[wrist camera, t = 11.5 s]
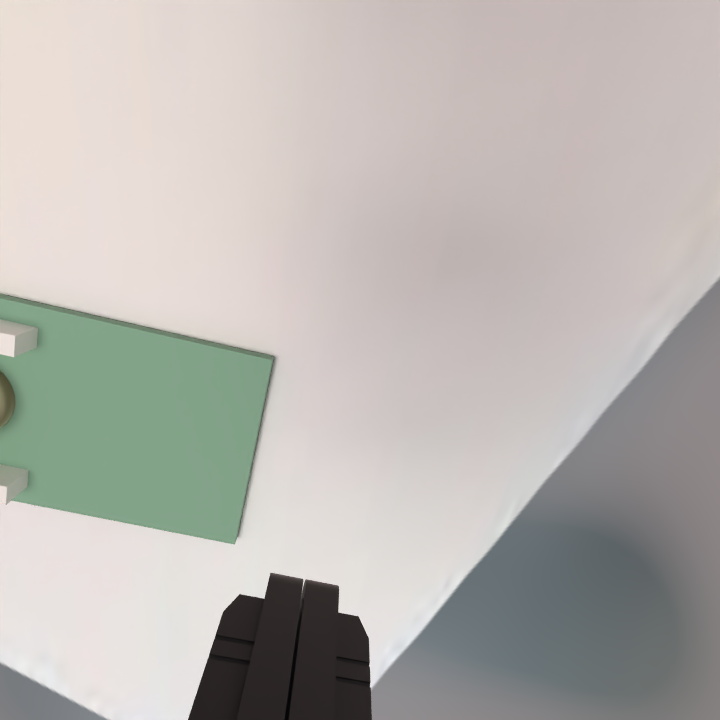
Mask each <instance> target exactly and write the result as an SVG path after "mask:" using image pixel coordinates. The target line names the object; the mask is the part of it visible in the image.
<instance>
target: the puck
mask: <svg viewBox="0 0 720 720" xmlns="http://www.w3.org/2000/svg"><path fill="white" fill-rule="evenodd" d="M14 410H15V394H14V391H13V388H12V386H11V383H10V382H9V380H8V379H7V377H6V376H5V375H4V374H3V373H2V372H1V371H0V428H1V427H3V426H4V425H5V424H6V423H7V422H8V421H9V420H10V419H11V417H12V415H13V413H14Z"/></svg>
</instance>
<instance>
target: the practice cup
mask: <svg viewBox="0 0 720 720" xmlns="http://www.w3.org/2000/svg"><path fill="white" fill-rule="evenodd" d="M37 336H38V327H33V326H29V325H24V324H20V323H15V322H11V321H6V320H2V319H0V354H2V355H6V356H11V357H16V356H18V355H20V354H23V353H25V352H27V351H30V350H32V349H35V348H37ZM27 485H28V470H27V469H22V468H17V467H12V466H7V465H2V464H0V504H5V505H6V504H7V503H9V502H10V501H11V500H12V499H13V498H15V497H16V496H17V495H18V494H19V493H21V492H22V491H23V490H24V489H25V488H27Z"/></svg>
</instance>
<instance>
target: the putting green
mask: <svg viewBox="0 0 720 720" xmlns="http://www.w3.org/2000/svg"><path fill="white" fill-rule="evenodd" d="M0 319H2V320H6V321H11V322H15V323H20V324H24V325H29V326H33V327H38V336H37V348H35V349H32V350H30V351H27V352H25V353H23V354H20V355H18V356H16V357H11V356H6V355H2V354H0V371H1V372H2V373H3V374H4V375H5V376H6V377H7V379H8V380H9V382H10V383H11V386H12V388H13V391H14V394H15V410H14V413H13V415H12V417H11V419H10V420H9V421H8V422H7V423H6V424H5V425H4V426H3V427H1V428H0V464H2V465H7V466H12V467H17V468H22V469H27V470H28V485H27V488H25V489H24V490H23V491H22V492H21V493H19V494H18V495H17V496H16V497H15V498H13V499H12V501H17V502H22V503H27V504H32V505H37V506H42V507H48V508H53V509H58V510H63V511H68V512H73V513H78V514H83V515H88V516H93V517H98V518H103V519H108V520H114V521H119V522H124V523H129V524H134V525H139V526H144V527H149V528H154V529H159V530H164V531H169V532H174V533H180V534H185V535H190V536H195V537H200V538H205V539H210V540H215V541H220V542H225V543H230V544H235V542H236V539H237V536H238V531H239V527H240V522H241V517H242V512H243V507H244V502H245V497H246V492H247V487H248V483H249V478H250V473H251V468H252V463H253V458H254V453H255V448H256V444H257V439H258V434H259V429H260V424H261V419H262V414H263V409H264V404H265V400H266V395H267V390H268V385H269V380H270V375H271V370H272V365H273V360H274V356H270V355H266V354H262V353H257V352H253V351H248V350H244V349H240V348H235V347H231V346H226V345H222V344H218V343H213V342H209V341H205V340H200V339H196V338H191V337H187V336H183V335H178V334H174V333H170V332H165V331H161V330H156V329H152V328H148V327H143V326H139V325H135V324H130V323H126V322H121V321H117V320H113V319H108V318H104V317H100V316H95V315H91V314H86V313H82V312H78V311H73V310H69V309H64V308H60V307H56V306H51V305H47V304H43V303H38V302H34V301H29V300H25V299H21V298H16V297H12V296H8V295H3V294H0Z"/></svg>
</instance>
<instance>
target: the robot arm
mask: <svg viewBox="0 0 720 720" xmlns="http://www.w3.org/2000/svg"><path fill="white" fill-rule="evenodd" d="M302 587H303V590H302ZM338 603H339V586H337V585H332V584H327V583H322V582H317V581H312V580H305V583H304V586H303V579H300V578H295V577H290V576H285V575H280V574H274V573H270V577H269V582H268V586H267V590H266V595H265V599H262V598H257V597H251V596H246V595H241V594H239V596H238V597H237V598H236V599H235V600H234V601H233V602H232V603H231V604H230V605H229V606H228V607H227V608H226V609H225V610H224V612H223V614H222V617H221V620H220V624H219V627H218V630H217V633H216V636H215V639H214V642H213V645H212V648H211V651H210V654H209V658H208V660H207V663H206V666H205V669H204V673H203V676H202V679H201V682H200V685H199V688H198V691H197V694H196V697H195V700H194V703H193V706H192V709H191V712H190V715H189V719H188V720H372V715H371V687H370V667H369V663H370V660H369V638H368V636H367V634H366V632H365V630H364V627H363V625H362V623H361V621H360V619H359V617H358V616H353V615H348V614H342V613H338Z"/></svg>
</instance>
